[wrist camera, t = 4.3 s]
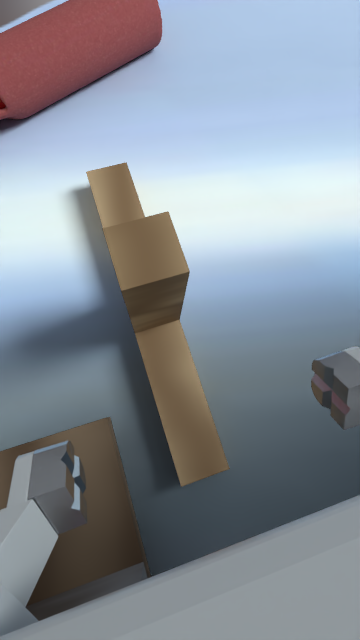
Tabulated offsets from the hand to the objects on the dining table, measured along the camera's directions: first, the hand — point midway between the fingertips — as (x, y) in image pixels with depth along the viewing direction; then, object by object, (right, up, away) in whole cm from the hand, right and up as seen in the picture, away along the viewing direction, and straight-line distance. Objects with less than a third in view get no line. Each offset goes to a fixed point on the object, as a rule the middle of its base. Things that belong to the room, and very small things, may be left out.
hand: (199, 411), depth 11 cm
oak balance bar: (-3, +3, +13) cm, 14 cm away
